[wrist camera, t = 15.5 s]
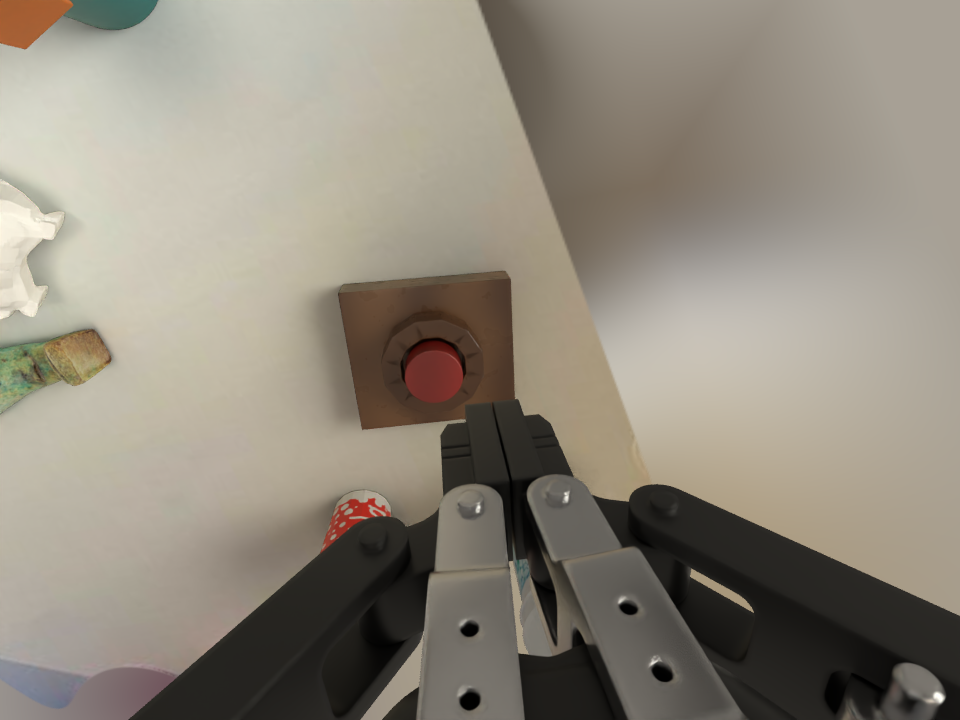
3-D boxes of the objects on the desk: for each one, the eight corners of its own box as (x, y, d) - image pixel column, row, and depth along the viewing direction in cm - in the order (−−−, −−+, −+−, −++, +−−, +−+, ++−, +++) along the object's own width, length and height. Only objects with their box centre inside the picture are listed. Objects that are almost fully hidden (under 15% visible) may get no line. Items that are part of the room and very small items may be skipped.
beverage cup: (416, 516, 42) (414, 680, 29) (359, 553, 42) (332, 729, 30) (367, 468, 39) (342, 624, 26) (307, 509, 40) (255, 679, 27)
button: (458, 337, 32) (460, 347, 30) (462, 388, 33) (465, 400, 32) (402, 342, 32) (401, 353, 30) (408, 393, 33) (408, 406, 32)
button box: (505, 270, 34) (515, 285, 31) (510, 399, 38) (519, 426, 35) (342, 284, 33) (333, 301, 30) (365, 414, 37) (359, 444, 34)
